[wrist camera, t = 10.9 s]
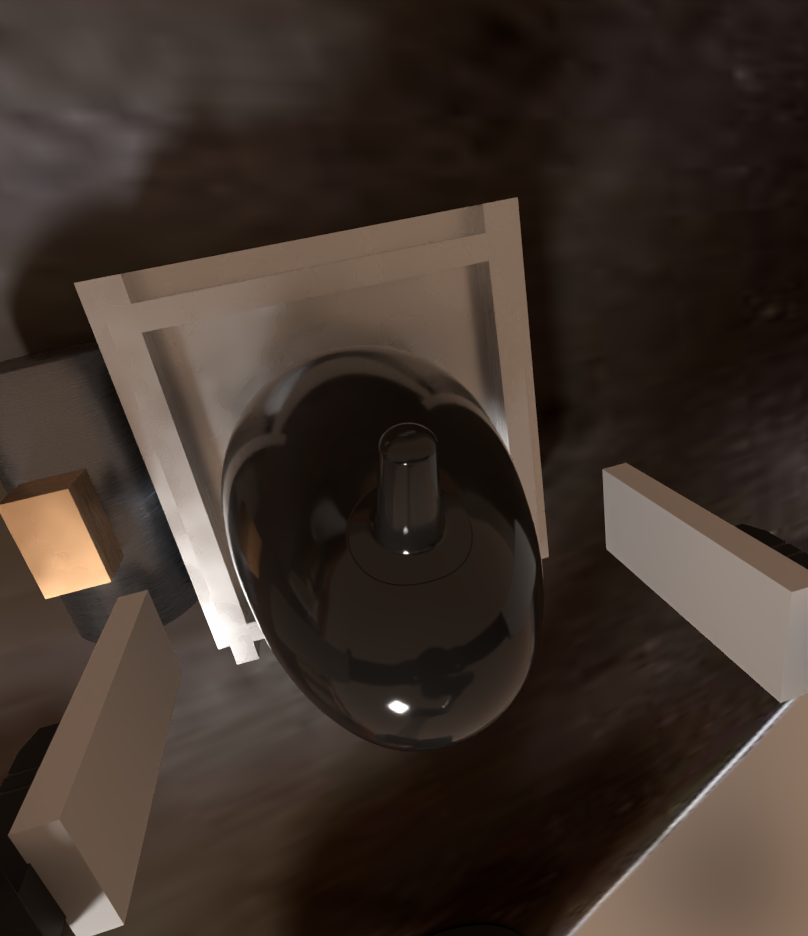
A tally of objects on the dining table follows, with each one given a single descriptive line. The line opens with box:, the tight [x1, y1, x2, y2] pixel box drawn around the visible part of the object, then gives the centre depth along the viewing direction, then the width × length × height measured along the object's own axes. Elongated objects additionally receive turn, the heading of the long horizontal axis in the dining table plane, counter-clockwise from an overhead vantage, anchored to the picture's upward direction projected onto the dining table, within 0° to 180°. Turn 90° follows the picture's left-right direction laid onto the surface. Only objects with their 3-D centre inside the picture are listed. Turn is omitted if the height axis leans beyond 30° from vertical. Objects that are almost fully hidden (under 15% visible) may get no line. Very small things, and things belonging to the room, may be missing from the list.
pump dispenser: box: [221, 345, 544, 752], centre depth 18 cm, size 10×10×15 cm
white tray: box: [0, 197, 549, 665], centre depth 25 cm, size 17×23×8 cm
